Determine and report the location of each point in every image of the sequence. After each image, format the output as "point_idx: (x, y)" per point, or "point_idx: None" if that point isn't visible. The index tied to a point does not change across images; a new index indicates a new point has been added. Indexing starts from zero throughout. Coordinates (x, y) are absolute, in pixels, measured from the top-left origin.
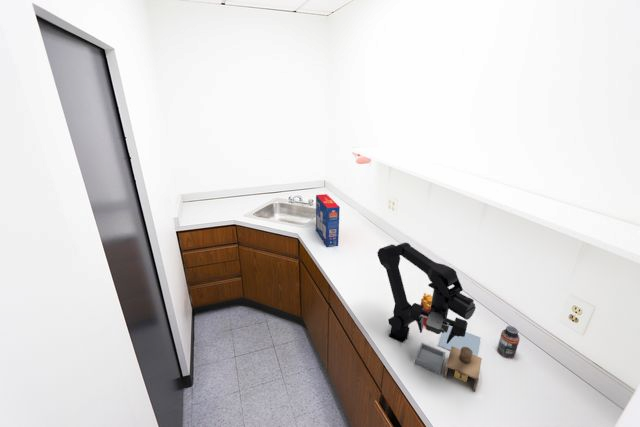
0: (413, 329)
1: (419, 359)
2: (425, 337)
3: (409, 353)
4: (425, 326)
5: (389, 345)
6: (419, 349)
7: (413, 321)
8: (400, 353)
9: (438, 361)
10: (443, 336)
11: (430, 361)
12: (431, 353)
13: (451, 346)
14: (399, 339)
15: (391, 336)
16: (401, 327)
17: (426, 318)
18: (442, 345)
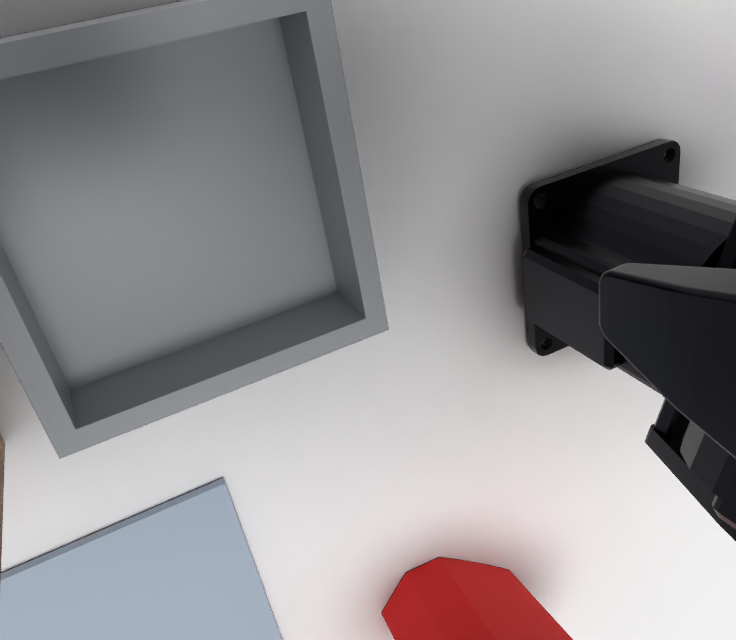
0: (507, 435)
1: (261, 2)
2: (376, 456)
3: (407, 97)
4: (437, 560)
5: (624, 23)
6: (354, 198)
7: (710, 442)
8: (488, 4)
9: (59, 272)
10: (245, 621)
11: (138, 178)
12: (208, 313)
13: (99, 599)
14: (577, 188)
15: (653, 155)
16: (732, 249)
17: (501, 638)
18: (183, 524)
